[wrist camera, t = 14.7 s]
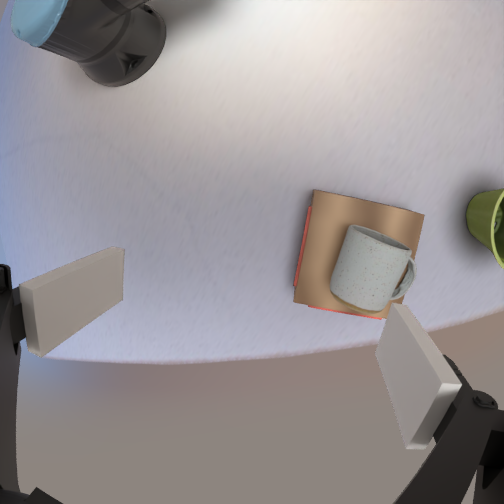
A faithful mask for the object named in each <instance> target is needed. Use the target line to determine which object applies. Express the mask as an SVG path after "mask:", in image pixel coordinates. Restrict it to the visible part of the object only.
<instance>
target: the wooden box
mask: <svg viewBox="0 0 504 504" xmlns="http://www.w3.org/2000/svg"><path fill="white" fill-rule="evenodd" d="M423 220H424V215H423V214H420V213H417V212H413V211H410V210H406V209H402V208H398V207H394V206H389V205H385V204H381V203H376V202H372V201H368V200H363V199H358V198H354V197H349V196H344V195H339V194H335V193H330V192H325V191H320V190H313V196H312V201H311V206H309V208H308V213H307V218H306V224H305V229H304V234H303V240H302V245H301V250H300V255H299V260H298V265H297V270H296V275H295V280H294V285H293V286H295V290H294V301H293V302H295V303H300V304H305V305H308V307H311V308H317V309H322V310H328V311H333V312H339V313H345V314H350V315H356V316H362V317H368V318H374V319H380V320H381V319H382V318H385V319H387V317H388V313H389V310H390V307H391V304H392V303H398V304H402V301H403V298H404V295H405V294H404V295H403V296H401V297H400V298H398V299H395V300H389V302H388V303H387V305H386V306H385V308H384V309H383V310H382V311H381V312H379V313H375V314H366V313H361V312H358V311H355V310H352V309H350V308H348V307H346V306H344V305H343V304H341V303H340V302H338V301H337V300H336V299H335V298H334V297H333V296H332V294H331V292H330V281H331V276H332V274H333V271H334V268H335V265H336V263H337V260H338V257H339V254H340V251H341V248H342V245H343V243H344V240H345V237H346V233H347V230H348V228H349V226H350V225H358V226H362V227H365V228H369V229H371V230H374V231H377V232H379V233H381V234H384V235H387V236H389V237H391V238H393V239H395V240H397V241H399V242H401V243H402V244H404V245H406V246H407V247H409V248H410V249H411V250H412V253H411V256H410V257H411V258H412V259H413V260H414V259H415V255H416V251H417V246H418V242H419V238H420V233H421V229H422V224H423ZM407 271H408V263H407V265H406V267H405V269H404V272H403V273H402V275H401V277H400V279H399V281H398V283H397V285H396V287H395V289H397V288H398V287H399V285H400V284H401V283H402V281H403V279H404V277H405V275H406V273H407Z"/></svg>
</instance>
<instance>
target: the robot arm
mask: <svg viewBox="0 0 504 504" xmlns="http://www.w3.org/2000/svg"><path fill="white" fill-rule="evenodd" d="M147 1H149V0H16V1H15V3H14V6H13V10H12V14H11V28H12V31H13V33H14V35H15V36H16V37H17V38H19V39H21V40H23V41H25V42H27V43H29V44H30V45H31V46H33V47H39V48H42V49H45V50H47V51H50V52H53V53H56V54H58V55H61V56H63V57H66V58H69V59H71V60H74V61H76V62H77V63H78V64H79V65H80V67H81V68H82V69H83V70H84V71H85V73H86V74H87V76H88V77H89V78H91V79H92V80H94V81H95V82H98V83H100V84H103V85H106V86H120V85H124V84H127V83H130V82H132V81H134V80H135V79H137V78H139V77H140V76H141V75H143V74H144V73H145V72H146V71H147V70H148V69H149V68H150V67H151V66H152V65H153V64H154V62H155V61H156V60H157V58H158V57H159V55H160V53H161V51H162V49H163V46H164V43H165V38H166V28H165V24H164V21H163V19H162V18H161V16H160V15H159V14H158V13H157V12H156V11H155V10H153V9H152V8H151V7H149V6H147V5H144V3H145V2H147ZM124 251H125V249H121V248H117V247H110V248H107V249H105V250H102V251H99V252H97V253H94V254H92V255H89V256H87V257H84V258H82V259H79V260H77V261H74V262H72V263H69V264H67V265H64V266H62V267H59V268H57V269H55V270H52V271H50V272H47V273H45V274H43V275H40V276H38V277H36V278H33V279H31V280H28V281H26V282H24V283H22V284H19V287H17V288H14V289H12V282H11V270H10V267H9V266H8V265H4V264H0V504H63V503H61V502H59V501H58V500H56V499H54V498H53V497H51V496H50V495H48V494H46V493H45V492H43V491H42V490H40V489H39V488H37V487H36V488H35V489H34V491H33V492H32V493H31V494H30V495H28V494H24V493H21V492H20V489H19V485H18V478H17V464H16V403H17V386H18V374H19V365H20V356H21V346H20V341H21V340H22V339H24V338H26V341H27V347H28V351H29V352H31V353H33V354H35V355H37V356H39V357H41V358H42V357H43V356H44V355H46V354H47V353H49V352H50V351H51V350H53V349H54V348H55V347H57V346H58V345H60V344H61V343H62V342H64V341H65V340H67V339H68V338H69V337H71V336H72V335H73V334H75V333H76V332H78V331H79V330H80V329H82V328H83V327H85V326H86V325H88V324H89V323H90V322H92V321H93V320H95V319H96V318H97V317H99V316H100V315H102V314H103V313H105V312H106V311H107V310H109V309H110V308H112V307H113V306H115V305H116V304H117V303H119V302H120V301H122V300H123V273H124ZM375 355H376V358H377V361H378V363H379V366H380V369H381V372H382V375H383V378H384V380H385V384H386V387H387V390H388V393H389V396H390V399H391V402H392V405H393V408H394V411H395V414H396V418H397V421H398V424H399V427H400V431H401V434H402V437H403V441H404V444H405V448H406V449H425V448H426V446H427V445H428V443H429V442H430V440H431V439H432V437H434V439H435V442H436V445H435V447H434V448H433V450H432V451H431V453H430V454H429V456H428V457H427V459H426V460H425V462H424V463H423V464H422V466H421V468H420V469H419V470H418V472H417V473H416V474H415V476H414V477H413V479H412V480H411V481H410V483H409V484H408V485H407V487H406V488H405V489H404V490H403V492H402V493H401V494H400V495H399V497H398V498H397V499H396V501H395V502H394V503H393V504H461V502H462V500H463V498H464V496H465V494H466V492H467V490H468V488H469V486H470V483H471V481H472V479H473V476H474V474H475V472H476V470H477V474H476V483H475V491H474V499H473V504H504V411H503V410H498V405H497V403H496V401H495V400H494V399H493V398H492V397H491V396H490V395H488V394H486V393H484V392H481V391H477V390H473V389H472V388H471V386H470V385H469V383H468V382H467V381H466V379H465V378H464V376H462V373H461V372H460V370H458V367H457V366H456V365H455V363H454V362H453V361H452V360H451V359H449V358H448V357H447V356H446V355H442V354H441V352H440V351H439V349H438V348H437V347H436V345H435V344H434V342H433V341H432V340H431V338H430V337H429V335H428V334H427V332H426V331H425V330H424V328H423V327H422V326H421V324H420V323H419V321H418V320H417V319H416V317H415V316H414V315H413V313H412V312H411V311H410V309H409V308H408V307H407V305H403V304H398V303H392V304H391V307H390V310H389V313H388V317H387V320H386V323H385V326H384V329H383V332H382V335H381V338H380V341H379V344H378V347H377V350H376V352H375Z"/></svg>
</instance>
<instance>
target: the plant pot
mask: <svg viewBox="0 0 504 504" xmlns="http://www.w3.org/2000/svg"><path fill="white" fill-rule="evenodd" d="M466 219H467V225H468V229H469V231H470V233H471V234H472V235H473V236H474V237H475V238H476V239H478V240H479V241H480V242H481V243H482V244H484V245H485V246H486V247H487V248H488V249H489V250H490V251H492V253H493V254H494V256H495V258H496V260H497V262H498V263H499V265H500V266H501V267H502V268H503V269H504V189H499V190H493V191H488V192H482V193H479V194H477V195H476V196H474V197H473V199H472V200H471V201H470V203H469V205H468V208H467V212H466ZM495 222H497V224H496V227H495V228H494V223H495Z"/></svg>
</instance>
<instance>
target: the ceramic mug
mask: <svg viewBox="0 0 504 504" xmlns="http://www.w3.org/2000/svg"><path fill="white" fill-rule="evenodd" d="M411 253H412V250H411V249H410V248H409V247H407V246H406V245H404V244H402V243H401V242H399V241H397V240H395V239H393V238H391V237H389V236H387V235H384V234H381V233H379V232H377V231H374V230H371V229H369V228H365V227H362V226H358V225H350V226H349V228H348V230H347V233H346V237H345V240H344V243H343V245H342V248H341V251H340V254H339V257H338V260H337V263H336V265H335V268H334V271H333V274H332V276H331V281H330V292H331V294H332V296H333V297H334V298H335V299H336V300H337V301H338V302H340V303H341V304H343V305H344V306H346V307H348V308H350V309H352V310H355V311H358V312H361V313H366V314H375V313H379V312H381V311H382V310H383V309H384V308H385V306H386V305H387V303H388V302H389V300H395V299H398V298H400V297H401V296H403V295H404V294H405V293H406V292H407V291H408V290H409V289H410V287H411V286H412V284H413V282H414V280H415V277H416V272H417V268H416V264H415V262H414V260H413V259H412V258H411V257H410V256H411ZM407 263H408V271H407V273H406V275H405V277H404V279H403V281H402V283H401V284H400V285H399V287H398V288H397V289H395V287H396V285H397V283H398V281H399V279H400V277H401V275H402V273H403V272H404V269H405V267H406V265H407Z"/></svg>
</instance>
